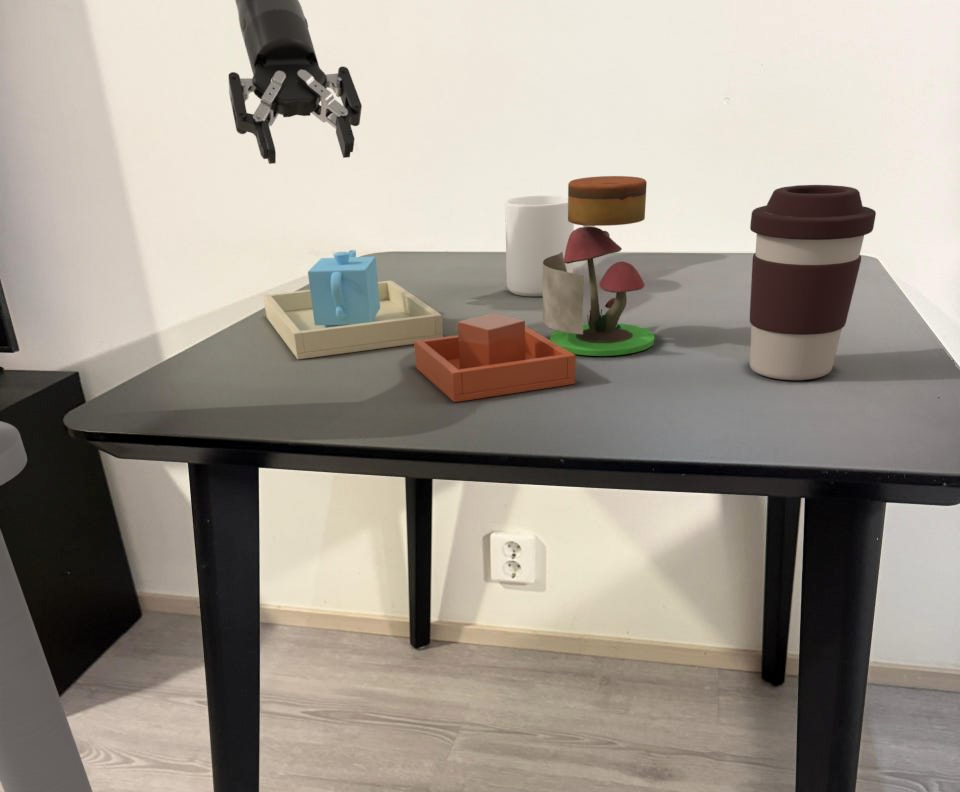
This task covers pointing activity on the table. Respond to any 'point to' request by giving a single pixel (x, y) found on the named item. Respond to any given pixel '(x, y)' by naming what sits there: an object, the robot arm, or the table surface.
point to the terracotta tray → (494, 368)
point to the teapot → (344, 290)
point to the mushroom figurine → (565, 291)
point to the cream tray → (392, 326)
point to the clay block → (490, 340)
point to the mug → (535, 240)
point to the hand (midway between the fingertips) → (310, 155)
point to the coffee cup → (804, 277)
